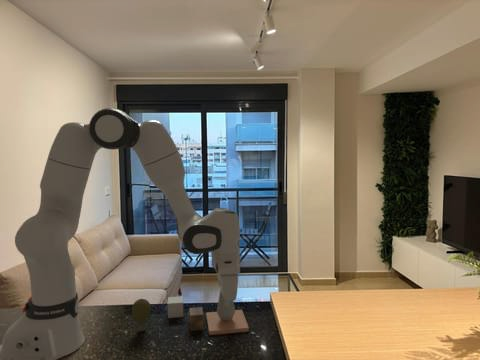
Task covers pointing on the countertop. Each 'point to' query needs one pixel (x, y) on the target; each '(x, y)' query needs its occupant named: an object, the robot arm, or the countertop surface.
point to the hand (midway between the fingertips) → (225, 302)
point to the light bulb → (141, 313)
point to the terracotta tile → (226, 323)
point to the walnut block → (196, 319)
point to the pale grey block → (175, 307)
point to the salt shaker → (225, 309)
